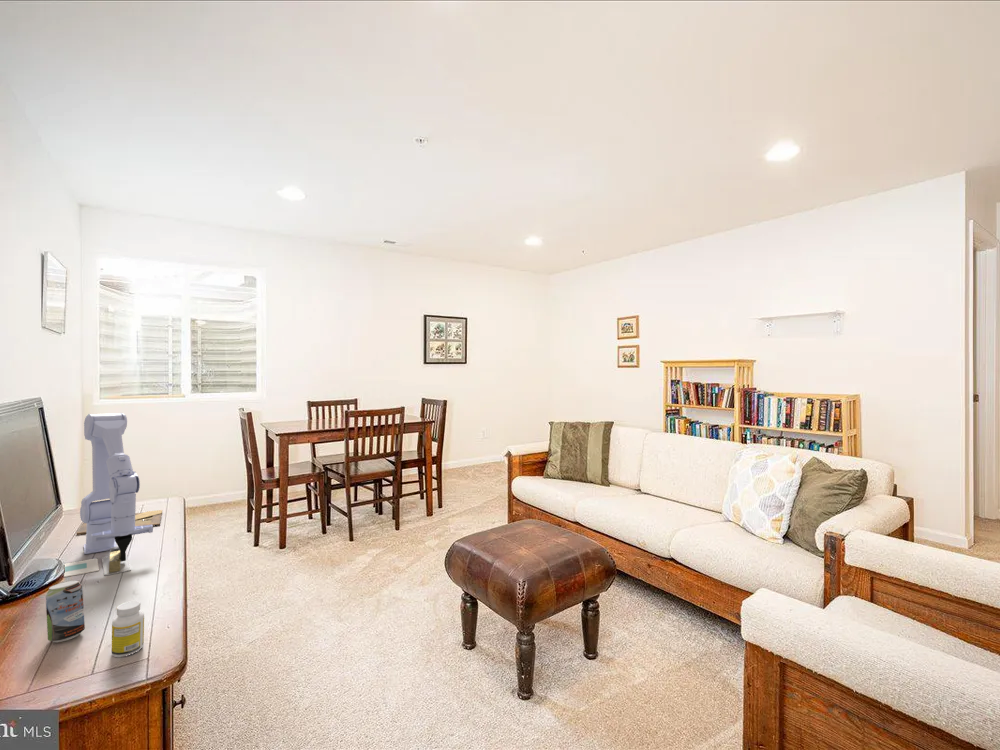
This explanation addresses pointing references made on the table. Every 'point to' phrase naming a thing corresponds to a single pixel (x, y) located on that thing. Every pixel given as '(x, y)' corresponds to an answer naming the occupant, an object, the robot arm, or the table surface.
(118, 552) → the bar
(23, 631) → the table surface
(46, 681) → the table surface
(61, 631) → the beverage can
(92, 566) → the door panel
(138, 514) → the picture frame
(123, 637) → the supplement bottle
